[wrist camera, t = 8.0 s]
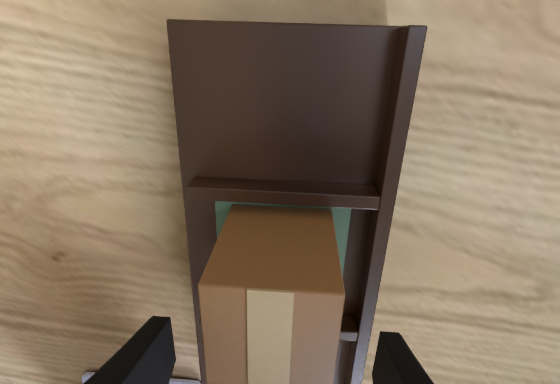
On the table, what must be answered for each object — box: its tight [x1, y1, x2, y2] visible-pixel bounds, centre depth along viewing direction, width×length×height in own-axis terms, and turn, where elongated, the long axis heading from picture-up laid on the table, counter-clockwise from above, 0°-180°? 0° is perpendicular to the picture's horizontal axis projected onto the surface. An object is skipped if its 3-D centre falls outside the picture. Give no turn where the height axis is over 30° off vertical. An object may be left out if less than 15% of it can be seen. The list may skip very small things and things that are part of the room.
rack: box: [167, 19, 427, 384], centre depth 18 cm, size 9×20×6 cm, turn 178°
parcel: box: [198, 204, 345, 384], centre depth 14 cm, size 4×6×6 cm
